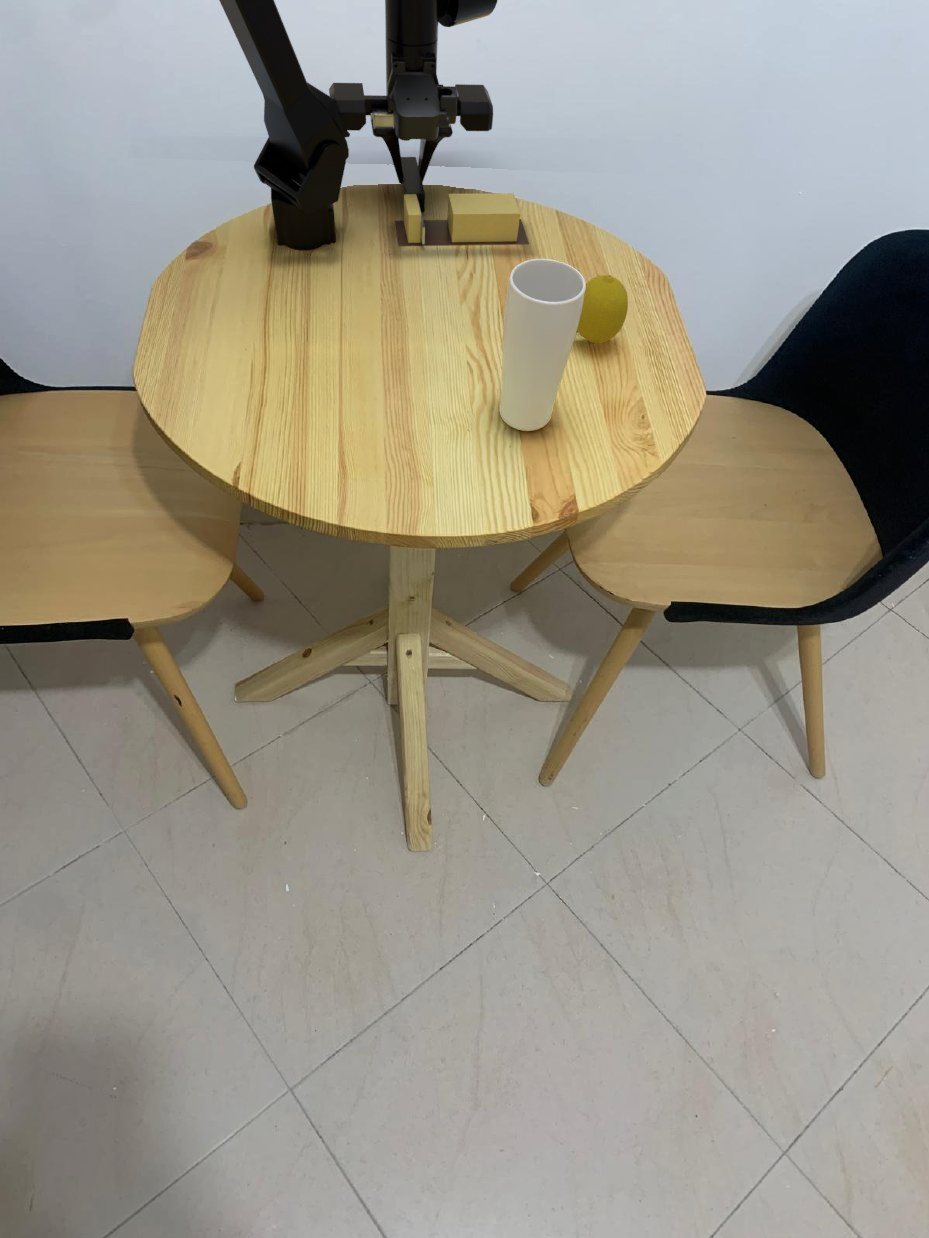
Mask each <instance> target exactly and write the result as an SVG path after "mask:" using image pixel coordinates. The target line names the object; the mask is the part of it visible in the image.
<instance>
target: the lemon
mask: <svg viewBox="0 0 929 1238" xmlns="http://www.w3.org/2000/svg"><path fill="white" fill-rule="evenodd" d="M585 283H586V289H585V295H584V302H583V307H582V312H581V317H580V321H579V325H578V329H577V332H578V333H579V335H580V336H581V337H582V338H583V339H584V340H586V341H588V342H590V343H591V344H599V343H605V342H608V341H610V340H612V339H614V338H615V337H616V336H617V334H619V333H620V331H621V329H622V327H624V324H625V321H626V319H627V316H628V315H627V314H628V307H629V299H628V297H629V296H628V292H627V290H626V287H625V285H624V284H623V283H622V281H620V280H619V279H618V278H617V277H614V276H612V275H611V274H602V275H598V276H595V277H593V278H592V279H590V280H588V281H587V282H585Z"/></svg>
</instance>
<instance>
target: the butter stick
mask: <svg viewBox="0 0 929 1238" xmlns="http://www.w3.org/2000/svg"><path fill="white" fill-rule="evenodd" d="M520 211H521V210H520V209H519V205H518V202H517V200H516V197H515V194H514V192H513V193H512V192H510V193H509V192H504V193H503V192H502V193H493V192H492V193H491V192H490V193H448V196H447V215H446V218H447V219H446V220H447V223H448V228H449V232H450V236H451V241H452V242H513V241H517V235H518V227H519V219H521V218H520V217H521V212H520Z"/></svg>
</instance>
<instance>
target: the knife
mask: <svg viewBox="0 0 929 1238" xmlns="http://www.w3.org/2000/svg"><path fill="white" fill-rule="evenodd" d="M401 163H402V171H403V176H402V183H400V188H401V192H402V197H403V198H404V194H416V196H417V200H418V204H419V208H420V212H421V241H422V244H425V226H424V222H423V220H424V217H423V214H422V213H425V212H426V191H425V187H424V183H422V179H421V175H420V173H419V168H418V160H417V157H416V156H401Z"/></svg>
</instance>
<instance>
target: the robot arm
mask: <svg viewBox="0 0 929 1238" xmlns="http://www.w3.org/2000/svg"><path fill="white" fill-rule="evenodd" d="M218 1H219V3H220V5H221V7H222V9H223V11H224V14H225V16H226V18H227V20H228V22H229V24H230V27H231V28H232V32H233V33H234V35H235V38H236V39H237V41H238V44H239V47H240V48H241V50H242V53H243V54H244V57H245V59H246V61H247V63H248V66H249V68H250V70H251V72H252V73H253V77H254V78H255V81H256V82H257V85H258V87H259V89H260V91H261V93H262V97H263V100H264V106H263V123H264V126H265V129H266V132H267V135H268V138H267V139H266V141H265V143H264V144H263V146H262V149H261V151H260V153H259V154H258V156H257V158H256V159H255V161H254V163H253V169H254V171H255V174H256V176H257V177H258V179H259V181H260V182H261V183H262V184H265V185H266V186H267V187H269V188H270V201H271V208H272V217H273V223H274V230H275V238H276V245H277V246H284V247H287V248H289V249H291V250H295V251H304V252H305V251H315V250H317V249H320V248H321V247H324V246H327V245H331V244H336V243H337V236H336V221H335V219H336V218H335V208H334V204H335V203H337V202H339V197H340V192H341V188H342V183H343V178H344V174H345V168H346V163H347V159H348V158H349V157H350V148H349V146H348V145H349V144H348V141H347V139H346V138H350V136H351V133H350V132H349V131H361V130H362V129H363V128H364V126H365V125H366V124H367V116H369V119H370V125H371V130H372V135H373V136H374V137H376V138H381V139H383V142H384V143H385V145H386V147H387V150H388V152H389V154H390V158H391V160H392V163H393V167H394V170H395V173H396V177H397V180H398V183H399V184H401V183H402V176H403V171H402V163H401V157H402V155H401V148H400V141H404V142H407V141H410V140H420V142H419V151H418V161H417V163H418V168H419V173H420V175H421V179H422V183H423V182H424V180H425V177H426V175H427V171H428V169H429V166H430V163H431V161H432V159H433V155H434V153H435V151H436V149H437V147H438V145H439V144H440V142H441V141H443V140H444V139H445V138H451V137H453V133H454V131H453V127H452V125H455V124H456V123H457V117H459V124H460V126H462V127H463V129H464V130H465V131H466V132H489V131H491V130H492V129H493V121H494V119H493V118H494V105H493V103H492V100H491V96H490V94H489V90H488V89H487V88H486V86H485V85H484V84H462V83H461V84H460V83H459V84H457V83H456V84H455V85H454V86H450V85H449V86H444V84H440V83H439V79H438V75H437V73H438V72H437V71H438V41H439V40H438V39H439V24H440V25H441V26H442V27H444V28H452V27H455V26H458V25H462V24H466V23H469V22H472V21H475V20H478V19H482V18H485V17H489V16H490V15H491V14H492V13H494V10H495V9H496V6H497V3H498V0H384V13H385V14H384V15H385V18H384V19H385V21H384V23H385V88H386V89H385V91H386V92H385V95H376V94H375V95H372V94H371V95H368V94H367V95H366V94H365V92H364V84H363V82H332V84H331V85H330V87H329V88H328V94H327V93H325V92H324V91H323V90H321V89H318V88H317V87H316V86H314V85H312V84H311V83H309V82H308V81H307V79H306V76H305V74H304V71H303V69H302V67H301V64H300V62H299V59H298V57H297V53H296V52H295V49H294V47H293V44H292V42H291V39H290V37H289V34H288V32H287V29H286V27H285V24H284V21H283V19H282V17H281V14H280V12H279V9H278V7H277V4H276V2H275V0H218ZM423 184H424V183H423Z"/></svg>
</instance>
